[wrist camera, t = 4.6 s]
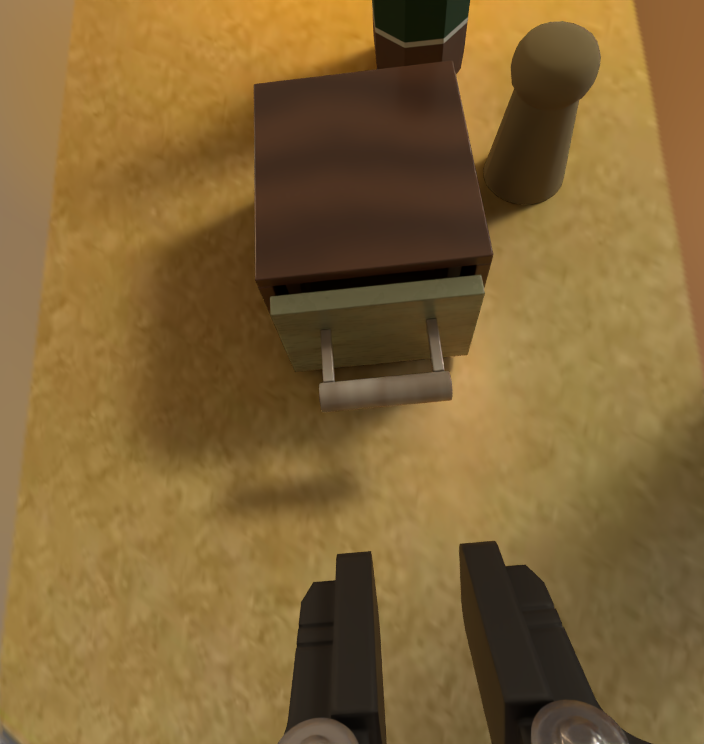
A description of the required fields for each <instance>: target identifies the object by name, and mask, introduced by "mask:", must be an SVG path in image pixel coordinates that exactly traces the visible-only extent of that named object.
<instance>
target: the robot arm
mask: <svg viewBox="0 0 704 744" xmlns="http://www.w3.org/2000/svg"><path fill="white" fill-rule="evenodd" d="M459 557H460V581H461V603H462V612H463V619H464V625H465V631H466V635H467V639H468V644H469V648H470V652H471V656H472V661H473V665H474V669H475V674H476V678H477V682H478V686H479V691H480V695H481V699H482V703H483V708H484V712H485V716H486V720H487V725H488V729H489V733H490V738H491V742H492V744H652V743H648V742H645V741H643V740H641V739H638V738H636V737H634V736H633V735H631V734H629V733H627V732H626V731H624V730H623V729H622V728H620V726H619V725H618V724H617V723H616V722H615V721H614V720H613V719H612V718H611V717H610V716H609V715H607V714H606V713H605V712H604V711H603V710H602V709H601V707H600V706H599V704H598V702H597V701H596V699H595V697H594V695H593V692H592V690H591V688H590V685H589V683H588V681H587V679H586V676H585V674H584V672H583V670H582V667H581V665H580V663H579V661H578V658H577V656H576V654H575V651H574V649H573V647H572V645H571V642H570V640H569V638H568V636H567V633H566V631H565V629H564V627H562V622H561V620H560V617H559V615H558V613H557V611H556V609H555V608H554V604H553V602H552V599H551V597H550V595H549V592H548V590H547V588H546V586H545V583H544V582H543V581H542V580H541V579H540V578H539V577H538V576H537V575H536V574H535V573H534V572H533V571H532V570H531V569H529V568H528V567H527V566H526V565H516V566H505V564H504V561H503V559H502V556H501V553H500V550H499V548H498V545H497V543H496V542H495V541H487V542H476V543H464V544H460V546H459ZM278 744H387V743H386V726H385V709H384V691H383V674H382V656H381V639H380V625H379V614H378V605H377V596H376V587H375V579H374V570H373V561H372V554H371V551H368V552H357V553H345V554H337V558H336V580H334V581H322V582H313V584H312V585H311V587H310V589H309V590H308V592H307V594H306V595H305V597H304V599H303V600H302V602H301V609H300V618H299V629H298V636H297V648H296V653H295V662H294V671H293V680H292V689H291V698H290V707H289V716H288V723H287V727H286V730H285V733H284V736H283V737H282V738H281V739H280V741H279V742H278Z"/></svg>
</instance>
